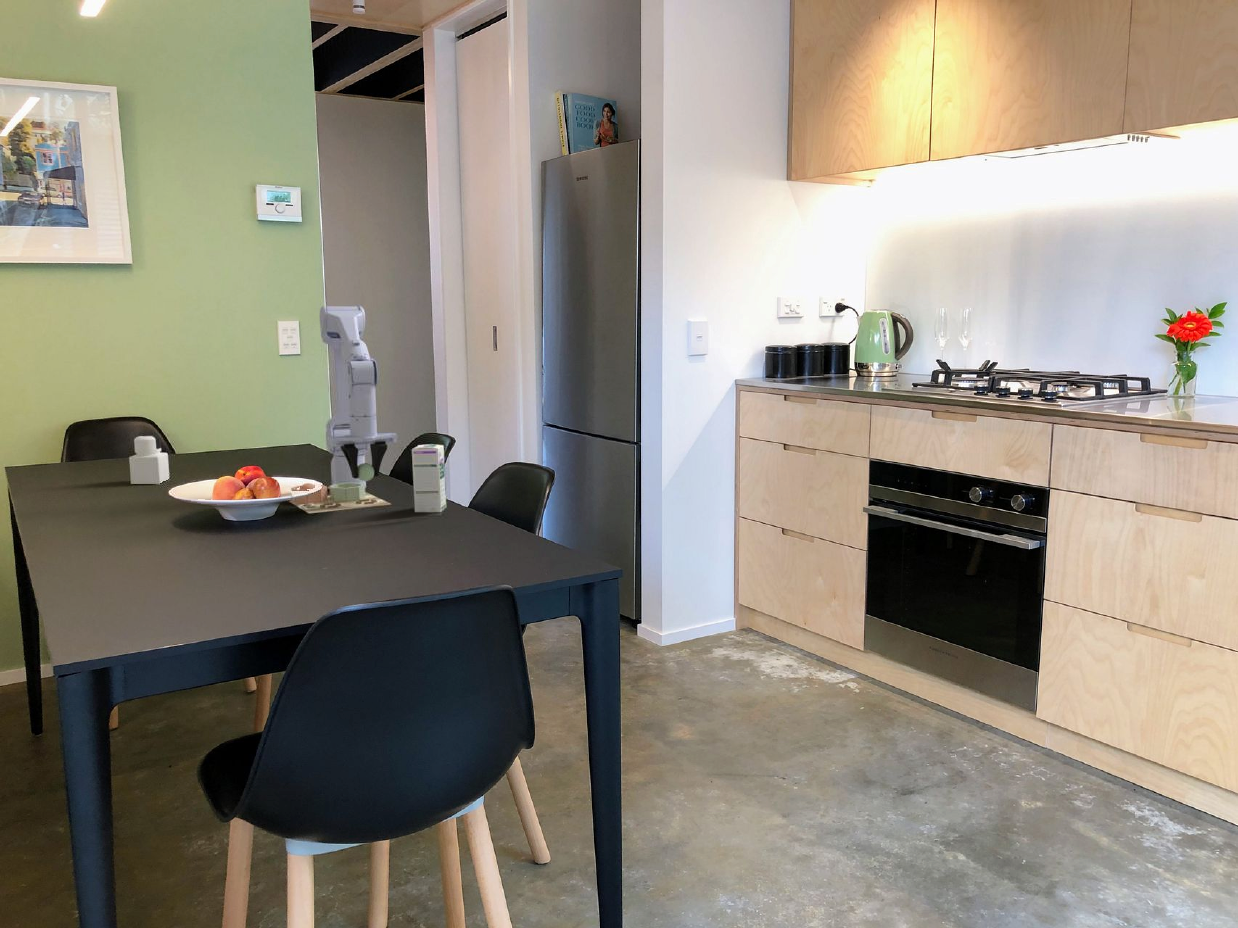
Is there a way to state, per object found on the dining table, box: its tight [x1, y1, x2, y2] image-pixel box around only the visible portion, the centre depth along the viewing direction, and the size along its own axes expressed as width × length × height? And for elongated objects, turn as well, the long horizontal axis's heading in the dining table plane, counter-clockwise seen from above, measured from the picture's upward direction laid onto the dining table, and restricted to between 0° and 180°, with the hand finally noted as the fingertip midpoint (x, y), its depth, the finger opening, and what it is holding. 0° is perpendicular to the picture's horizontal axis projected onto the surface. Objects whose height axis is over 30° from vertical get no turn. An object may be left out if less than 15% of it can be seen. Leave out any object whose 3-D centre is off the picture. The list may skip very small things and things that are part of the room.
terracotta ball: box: [299, 482, 316, 490], centre depth 217 cm, size 4×4×4 cm
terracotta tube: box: [290, 484, 329, 504], centre depth 217 cm, size 7×7×3 cm
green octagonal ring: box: [329, 483, 366, 502], centre depth 220 cm, size 7×7×3 cm
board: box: [288, 491, 392, 514], centre depth 216 cm, size 18×18×1 cm
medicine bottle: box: [128, 434, 170, 485], centre depth 246 cm, size 7×7×12 cm
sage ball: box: [358, 462, 375, 482], centre depth 214 cm, size 4×4×4 cm
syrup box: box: [411, 443, 447, 516], centre depth 206 cm, size 6×6×14 cm
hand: (365, 476), depth 214 cm, fingers closed on sage ball, 4 cm apart
